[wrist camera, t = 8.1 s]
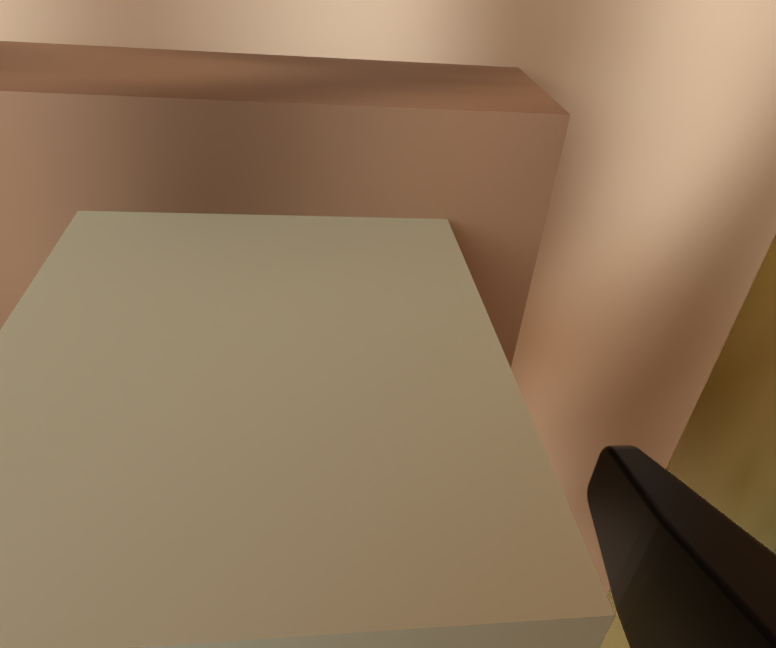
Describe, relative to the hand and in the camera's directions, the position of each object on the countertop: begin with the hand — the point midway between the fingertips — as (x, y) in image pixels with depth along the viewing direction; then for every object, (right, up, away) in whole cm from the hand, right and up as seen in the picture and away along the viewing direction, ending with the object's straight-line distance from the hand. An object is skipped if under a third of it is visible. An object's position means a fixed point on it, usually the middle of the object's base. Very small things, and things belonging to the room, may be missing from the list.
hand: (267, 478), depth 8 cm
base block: (-1, +3, +4) cm, 5 cm away
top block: (0, +1, +2) cm, 2 cm away
